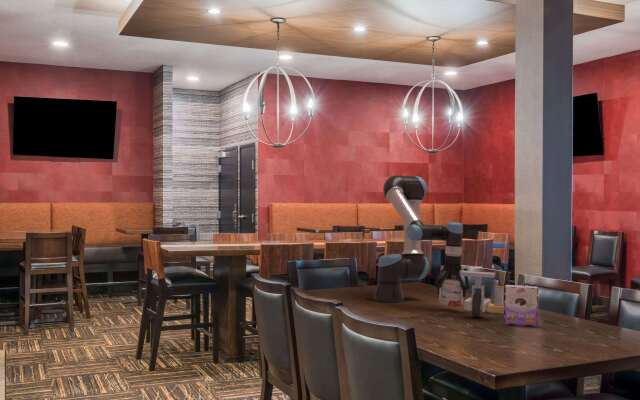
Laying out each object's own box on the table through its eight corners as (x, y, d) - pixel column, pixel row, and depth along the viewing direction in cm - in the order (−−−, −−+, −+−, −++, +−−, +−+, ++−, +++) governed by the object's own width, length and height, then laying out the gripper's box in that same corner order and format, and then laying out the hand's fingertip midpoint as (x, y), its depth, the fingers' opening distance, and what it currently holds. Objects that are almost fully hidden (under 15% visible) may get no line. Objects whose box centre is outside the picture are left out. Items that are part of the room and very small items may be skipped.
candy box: (537, 325, 293) (539, 286, 293) (537, 327, 287) (538, 287, 287) (504, 322, 297) (505, 284, 297) (503, 324, 292) (504, 285, 292)
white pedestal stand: (459, 317, 307) (460, 272, 307) (463, 313, 317) (465, 270, 317) (491, 320, 301) (492, 274, 301) (494, 316, 311) (496, 272, 311)
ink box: (461, 306, 324) (462, 281, 323) (454, 306, 321) (455, 281, 320) (447, 303, 330) (448, 278, 330) (440, 304, 327) (441, 279, 327)
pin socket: (487, 312, 325) (487, 305, 325) (490, 309, 333) (490, 303, 333) (506, 313, 321) (507, 307, 321) (509, 311, 329) (509, 305, 329)
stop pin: (494, 311, 326) (494, 286, 326) (495, 310, 329) (496, 285, 329) (501, 312, 325) (502, 287, 325) (503, 311, 328) (503, 286, 328)
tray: (484, 312, 324) (485, 303, 324) (463, 310, 328) (463, 301, 328) (490, 307, 339) (490, 299, 339) (470, 306, 343) (470, 297, 343)
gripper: (428, 253, 326) (426, 301, 326) (475, 257, 317) (473, 306, 318) (432, 252, 333) (430, 299, 333) (478, 256, 324) (476, 304, 324)
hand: (451, 302), depth 325 cm, fingers closed on ink box, 9 cm apart
